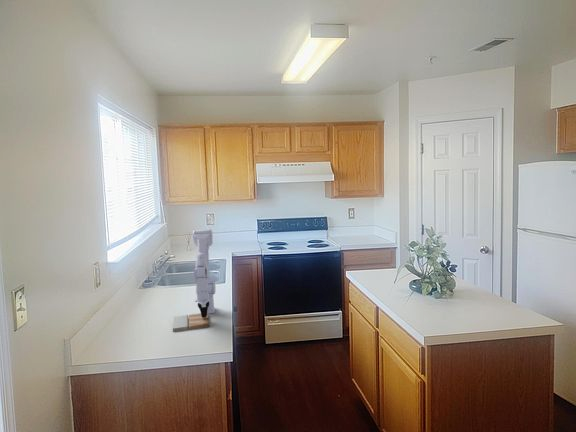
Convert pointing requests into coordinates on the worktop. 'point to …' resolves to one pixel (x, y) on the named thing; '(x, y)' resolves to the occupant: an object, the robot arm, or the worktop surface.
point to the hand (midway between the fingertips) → (204, 317)
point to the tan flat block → (198, 321)
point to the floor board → (180, 323)
